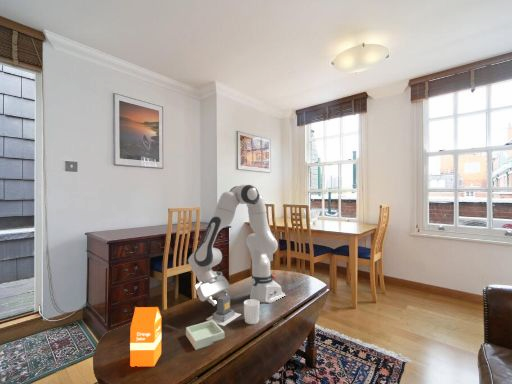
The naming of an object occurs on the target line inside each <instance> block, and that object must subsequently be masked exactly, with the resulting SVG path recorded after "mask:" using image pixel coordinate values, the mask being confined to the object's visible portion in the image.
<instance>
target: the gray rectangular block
mask: <svg viewBox="0 0 512 384" xmlns="http://www.w3.org/2000/svg"><path fill="white" fill-rule="evenodd" d="M216 302H217V305H216V311H217V314H219V315H222V316H224V315H226V314H228V313H229V312H230V309H231V295H229V294H228V295H224V294H222V295H220V296H218V297H216Z"/></svg>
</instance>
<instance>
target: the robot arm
mask: <svg viewBox="0 0 512 384" xmlns="http://www.w3.org/2000/svg"><path fill="white" fill-rule="evenodd" d="M244 204H246V207H247V212H248V220H249V227H250V229H252V232H253V233H250V234H248V236H247V237H246V240H245V244H246V246H247V247H248V250H249V252H250V253H249V254H250V257H251V258H250V259H251V266H252V270H251V271H252V272H251V273H252V274H251V290H250V296H249V299H255V300H258V301H259V302H260V303H266V304H272V303H275V302H276V300H277V301H279V300H281V299H283V298H282V297H284V296H286V293H285V292H283V291H282V286H281V285H280V284H279V283H277V281H275V279H276V277H277V275H276V274H275V275H274V274H271V261H270V259H269V257H268V255H273V254H275V253H276V252H277V250H278V246H279V244H278V241H277V239H276V238H275V236H274V235H273V232H272V230H271V229H270V226H269V225H270V224H269V222H268V216H267V215H268V214H267V207H266V203H265V199H264V197H263V196H262V195H261V194H259V190H258V189H257V187H256V186H254V185H252V184H242V185H241V184H240V185H237V186H234V187H231V189H230V190H229V191H224V192H222V194H221V195H220V198H219V199H218V202H217V203H216V207H215V211H214V213H213V215H212V218H211V219H210V221H209V222H208V225H207V227H206V230H205V232H204V235H203V237H202V239H201V242H200V244H198V247H196V249H195V251H194V252H193V253H191V254H190V256H189V257H188V259H187V260H188V265H189V266H190V269H191V270H192V273H193V274H194V275H195V276H196V278H197V281H198V282H197V283H195V285H194V290H195V292H196V294H197V296H198V299H199V301H201V302H205V301H208V303H210V304H211V305H212V306H213V307H216V306H217V300H214V299H213V297H215V296H218V295H220V294H222V295H228V296H229V294H228V289H229V288H230V287H231V285H230V283H229V281H228V280H227V278H226V277H225V276H224V275H223V272H222V271H217V270H216V271H214V270H213V269H212V268H213V267H216V266H217V265H219V264H220V263H221V262H222V260H223V253H222V251H221V249H220V248H217V247H214V244H215V241H216V239H217V237H218V236H217V235H218V234H219V232H220V231H221V230H222V229H223V228H226V227H228V226H229V225H231V224H232V222H233V220H234V217H235V214H236V209H237V207H238V205H244ZM286 297H287V296H286ZM280 298H281V299H280ZM284 298H285V297H284ZM278 299H279V300H278Z"/></svg>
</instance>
